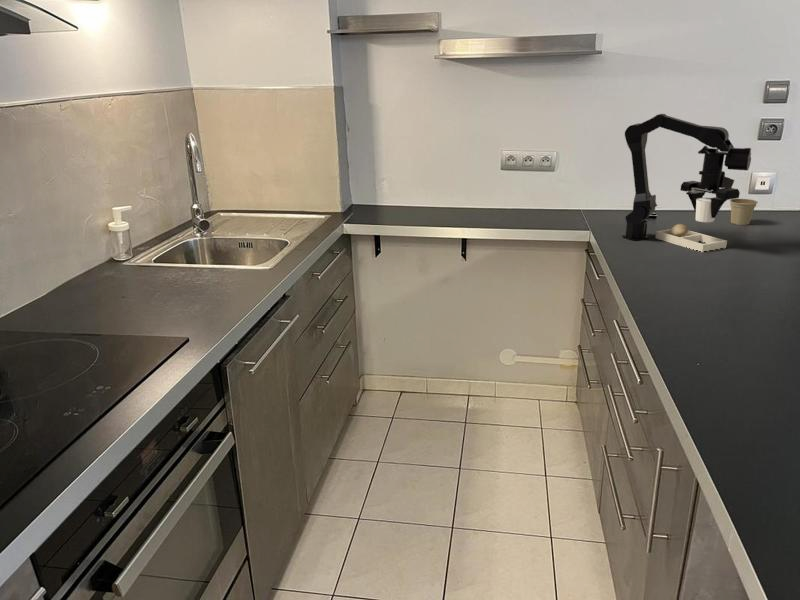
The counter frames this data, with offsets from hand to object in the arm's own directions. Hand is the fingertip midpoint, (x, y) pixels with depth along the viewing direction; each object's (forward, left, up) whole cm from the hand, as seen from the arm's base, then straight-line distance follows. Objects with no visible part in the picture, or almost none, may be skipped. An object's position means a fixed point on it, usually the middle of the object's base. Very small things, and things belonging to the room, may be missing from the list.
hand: (705, 215), depth 203 cm
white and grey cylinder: (0, 0, -2) cm, 2 cm away
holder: (0, +5, -11) cm, 12 cm away
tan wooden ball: (0, +10, -11) cm, 14 cm away
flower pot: (+37, +16, -11) cm, 42 cm away
